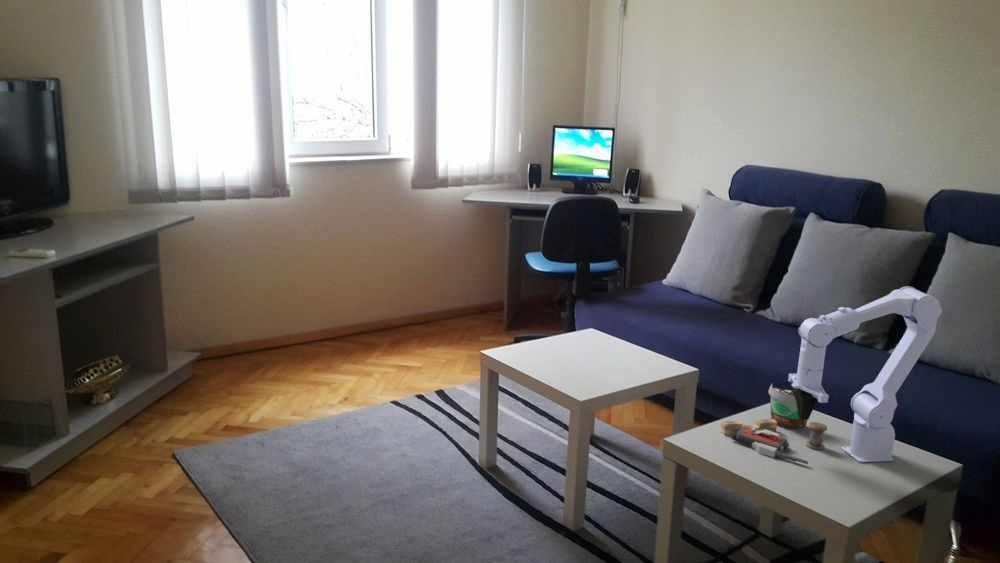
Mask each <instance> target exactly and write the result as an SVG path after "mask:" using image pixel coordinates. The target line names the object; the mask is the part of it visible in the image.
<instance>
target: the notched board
mask: <svg viewBox="0 0 1000 563" xmlns="http://www.w3.org/2000/svg"><path fill="white" fill-rule="evenodd" d="M720 423H721V425H720V430H719V431H720V432H719V433H721V434H722V435H724V436H726V435H727V436H728V435H729V436H730V435H731V436H733V435H737V432H738V431H739V430H740V429H741V428H742V427H744V426H745V427H749V428H752V429H753V428H754V427H755V428H756V430H759V431H762V430H765V429H766V430H769V431H772V432H776V433H777V428H778V426H777V422H776V421H775V420H774V419H771V418H769V419H768V418H767V419H766V418H764V419H756V420H755V424H743V423H742V422H741V421H740V420H723V421H721V422H720Z"/></svg>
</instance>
